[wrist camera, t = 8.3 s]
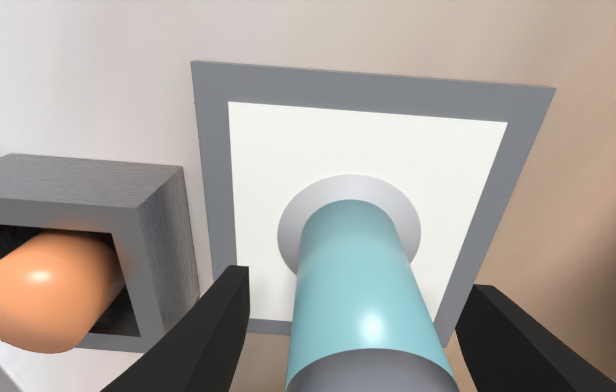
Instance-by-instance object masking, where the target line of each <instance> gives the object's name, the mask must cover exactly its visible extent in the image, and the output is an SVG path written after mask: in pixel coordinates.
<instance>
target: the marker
mask: <svg viewBox="0 0 616 392" xmlns="http://www.w3.org/2000/svg"><path fill="white" fill-rule="evenodd" d="M285 392H460V391H459V389H458V386H457V384H456V381H455V378H454V376H453V373H452V371H451V368H450V366H449V363H448V361H447V358H446V356H445V353H444V350H443V348H442V345H441V343H440V340H439V338H438V335H437V333H436V330H435V328H434V325H433V322H432V320H431V317H430V315H429V312H428V310H427V307H426V305H425V302H424V300H423V297H422V294H421V292H420V289H419V287H418V284H417V282H416V279H415V277H414V274H413V271H412V269H411V266H410V264H409V261H408V259H407V256H406V254H405V251H404V249H403V246H402V243H401V241H400V238H399V236H398V233H397V231H396V228H395V226H394V223H393V222H392V220H391V218H390V217H389V216H388V214H387V213H386V212H385V211H383V210H382V209H381V208H379V207H378V206H376V205H374V204H371V203H369V202H366V201H362V200H355V199H347V200H339V201H335V202H332V203H329V204H327V205H325V206H323V207H321V208H319V209H318V210H317V211H315V212H314V213H313V214H312V215H311V216H310V217H309V219H308V220H307V221H306V223H305V225H304V227H303V230H302V234H301V243H300V252H299V262H298V272H297V281H296V291H295V301H294V310H293V320H292V329H291V339H290V349H289V358H288V368H287V378H286V387H285Z"/></svg>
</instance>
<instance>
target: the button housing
mask: <svg viewBox="0 0 616 392" xmlns="http://www.w3.org/2000/svg"><path fill="white" fill-rule="evenodd" d="M51 228H54V229H67V230H78V231H81V232H84V233H87V234H89V235H91V236H93V237H95V238H97V239H99V240H100V241H102V242H103V243H104V244H106V245H107V246H108V247H109V248H110V249H111V250H112V251H113V252H114V253H115V254H116V255H117V256H118V258H119V261H120V265H121V268H122V272H123V275H124V279H125V285H124V287H123V289H122V290H121V291H120V293H119V294H118V295H117V296H116V298H115V299H114V300H113V301H112V303H111V304H110V305H109V306H108V308H107V309H106V310H105V311H104V313H103V314H102V315H101V316H100V318H99V319H98V320H97V321H96V323H95V324H94V325H93V326H92V328H91V329H90V330H89V331H88V333H87V334H86V335H85V336H84V338H83V339H82V340H81V341H80V343H79V344H78V345H77V346H76V347H74V348H86V349H99V350H111V351H124V352H136V353H146V352H147V351H148V350H150V349H151V348H152V347H153V346H154V345H155V344H156V343H157V342H158V341H159V340H160V339H161V338H162V337H163V336H164V335H165V334H166V333H167V332H168V331H169V330H170V329H171V328H172V327H174V326H175V325H176V324H177V323H178V322H179V321H180V320H181V319H182V318H183V317H184V315H185V314H186V313H187V312H188V311H189V310H190V309H191V308H192V307H193V306H194V304H195V302H196V300H197V298H198V296H199V294H200V292H199V285H198V278H197V270H196V263H195V256H194V249H193V241H192V234H191V227H190V220H189V213H188V205H187V198H186V191H185V184H184V176H183V169H182V167H181V166H168V165H155V164H141V163H128V162H115V161H102V160H89V159H76V158H63V157H50V156H37V155H24V154H8V155H5V156H3V157H0V260H1V259H2V258H4V257H5V256H7V255H8V254H9V253H11V252H12V251H14V250H15V249H17V248H18V247H20V246H21V245H23V244H24V243H26V242H27V241H28V240H30V239H31V238H33V237H34V236H36V235H37V234H39V233H40V232H42V231H44V230H47V229H51ZM1 341H2V340H1ZM2 342H4V341H2Z"/></svg>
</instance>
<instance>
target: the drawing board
mask: <svg viewBox="0 0 616 392" xmlns="http://www.w3.org/2000/svg"><path fill="white" fill-rule="evenodd" d="M190 62H191V71H192V80H193V90H194V99H195V109H196V118H197V128H198V137H199V146H200V156H201V165H202V175H203V184H204V194H205V203H206V212H207V222H208V231H209V241H210V250H211V260H212V269H213V278H214V282H215V281H216V280H217V279H218V277H219V276H220V275H221V274H222V273H223V271H224V270H225V269H226V268H227V267H228V266H229V265H238V266H249V285H250V316H249V321H248V326H247V331H246V332H252V333H264V334H277V335H289V336H291V329H292V320H293V310H294V301H295V291H296V281H297V272H298V262H299V252H300V243H301V234H302V230H303V227H304V225H305V223H306V221H307V220H308V219H309V217H310V216H311V215H312V214H313V213H314V212H315V211H317V210H318V209H319V208H321V207H323V206H325V205H327V204H329V203H332V202H335V201H339V200H347V199H355V200H362V201H366V202H369V203H371V204H374V205H376V206H378V207H379V208H381V209H382V210H383V211H385V212H386V213H387V214H388V216H389V217H390V218H391V220H392V222H393V223H394V226H395V228H396V231H397V233H398V236H399V238H400V241H401V243H402V246H403V249H404V251H405V254H406V256H407V259H408V261H409V264H410V266H411V269H412V271H413V274H414V277H415V279H416V282H417V284H418V287H419V289H420V292H421V294H422V297H423V300H424V302H425V305H426V307H427V310H428V312H429V315H430V317H431V320H432V322H433V325H434V328H435V330H436V333H437V335H438V338H439V340H440V343H441V345H442V348H446V347H447V345H448V342H449V340H450V338H451V335H452V333H453V331H454V328H455V326H456V323H457V321H458V319H459V316H460V314H461V312H462V309H463V307H464V305H465V302H466V300H467V298H468V295H469V293H470V291H471V288H472V286H473V284H474V281H475V279H476V277H477V274H478V272H479V270H480V267H481V265H482V262H483V260H484V258H485V255H486V253H487V251H488V248H489V246H490V244H491V241H492V239H493V237H494V234H495V232H496V230H497V227H498V225H499V223H500V220H501V218H502V216H503V213H504V211H505V209H506V206H507V204H508V201H509V199H510V197H511V194H512V192H513V190H514V187H515V185H516V183H517V180H518V178H519V176H520V173H521V171H522V169H523V166H524V164H525V162H526V159H527V157H528V155H529V152H530V150H531V148H532V145H533V143H534V140H535V138H536V136H537V133H538V131H539V129H540V126H541V124H542V122H543V119H544V117H545V115H546V112H547V110H548V108H549V105H550V103H551V101H552V98H553V96H554V94H555V91H556V88H552V87H547V86H534V85H520V84H507V83H493V82H480V81H466V80H453V79H439V78H426V77H412V76H399V75H385V74H372V73H358V72H345V71H331V70H318V69H304V68H291V67H277V66H264V65H250V64H237V63H223V62H210V61H190Z"/></svg>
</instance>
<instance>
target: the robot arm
mask: <svg viewBox="0 0 616 392" xmlns="http://www.w3.org/2000/svg"><path fill="white" fill-rule="evenodd" d="M249 316H250V285H249V266H238V265H229V266H228V267H227V268H226V269H225V270H224V271H223V273H222V274H221V275H220V276H219V277H218V279H217V280H216V281H215V282H214V283H213V285H212V286H211V287H210V288H209V289H208V290H207V292H206V293H205V294H204V295H203V296H202V297H201V298H200V299H199V300H198V301H197V303H196V304H195V305H194V306H193V307H192V308H191V309H190V310H189V311H188V312H187V313H186V314H185V315H184V317H183V318H182V319H181V320H180V321H179V322H178V323H177V324H176V325H175V326H174V327H172V328H171V329H170V330H169V331H168V332H167V333H166V334H165V335H164V336H163V337H162V338H161V339H160V340H159V341H158V342H157V343H156V344H155V345H154V346H153V347H152V348H151V349H150V350H148V351H147V352H146V353H145V354H144V355H143V356H142V357H141V358H140V359H138V360H137V361H136V362H135V363H134V364H133V365H132V366H130V367H129V368H128V369H127V370H126V371H125V372H123V373H122V374H121V375H120V376H119V377H117V378H116V379H115V380H114V381H112V382H111V383H110V384H109V385H107V386H106V387H105V388H104V389H102V390H101V391H100V392H229V388H230V385H231V382H232V379H233V376H234V373H235V370H236V367H237V363H238V360H239V357H240V354H241V351H242V348H243V344H244V340H245V336H246V331H247V326H248V321H249ZM455 331H456V334H457V338H458V341H459V345H460V348H461V351H462V354H463V357H464V360H465V363H466V365H467V368H468V370H469V372H470V375H471V377H472V379H473V382H474V384H475V386H476V388H477V391H478V392H616V383H614V382H613V381H612V380H610V379H609V378H608V377H606V376H605V375H604V374H603V373H601V372H600V371H599V370H597V369H596V368H595V367H593V366H592V365H591V364H589V363H588V362H587V361H585V360H584V359H583V358H582V357H580V356H579V355H578V354H577V353H575V352H574V351H573V350H572V349H570V348H569V347H568V346H567V345H565V344H564V343H563V342H562V341H560V340H559V339H558V338H557V337H555V336H554V335H553V334H552V333H550V332H549V331H548V330H547V329H546V328H544V327H543V326H542V325H541V324H540V323H538V322H537V321H536V320H535V319H534V318H532V317H531V316H530V315H529V314H528V313H526V312H525V311H524V310H523V309H521V308H520V307H519V306H518V305H517V304H515V303H514V302H513V301H512V300H511V299H509V298H508V297H507V296H506V295H504V294H503V293H502V292H500V291H499V290H498V289H496V288H495V287H494V286H490V285H478V284H473V287H472V289H471V291H470V294H469V296H468V298H467V301H466V303H465V305H464V308H463V310H462V312H461V315H460V317H459V319H458V322H457V324H456V326H455Z"/></svg>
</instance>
